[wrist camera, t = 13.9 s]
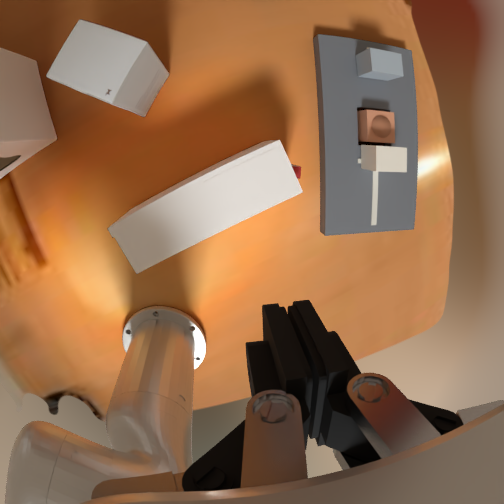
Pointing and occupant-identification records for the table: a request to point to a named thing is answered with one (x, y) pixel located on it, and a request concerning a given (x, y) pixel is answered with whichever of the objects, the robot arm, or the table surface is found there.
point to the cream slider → (384, 158)
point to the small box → (110, 67)
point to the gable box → (21, 111)
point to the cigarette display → (206, 204)
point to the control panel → (349, 152)
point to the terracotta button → (376, 126)
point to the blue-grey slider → (379, 64)
